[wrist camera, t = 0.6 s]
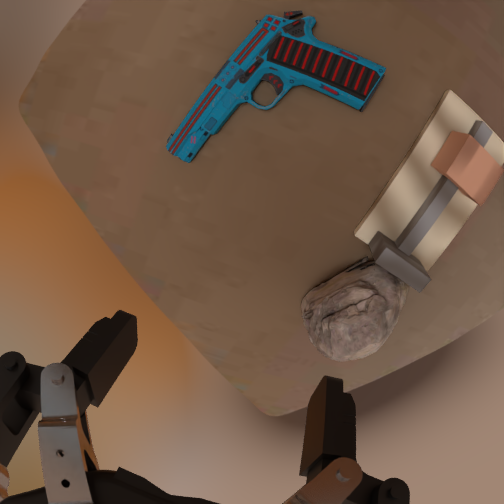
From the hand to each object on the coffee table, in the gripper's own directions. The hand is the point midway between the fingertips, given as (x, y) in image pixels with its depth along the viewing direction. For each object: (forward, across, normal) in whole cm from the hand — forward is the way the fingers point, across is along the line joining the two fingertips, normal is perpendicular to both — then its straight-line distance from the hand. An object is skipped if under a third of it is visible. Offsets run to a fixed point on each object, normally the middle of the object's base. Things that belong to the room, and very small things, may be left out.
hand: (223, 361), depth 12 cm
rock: (+27, -13, +12) cm, 32 cm away
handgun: (+27, +4, -9) cm, 29 cm away
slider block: (+25, -18, -10) cm, 33 cm away
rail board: (+27, -17, -6) cm, 32 cm away
